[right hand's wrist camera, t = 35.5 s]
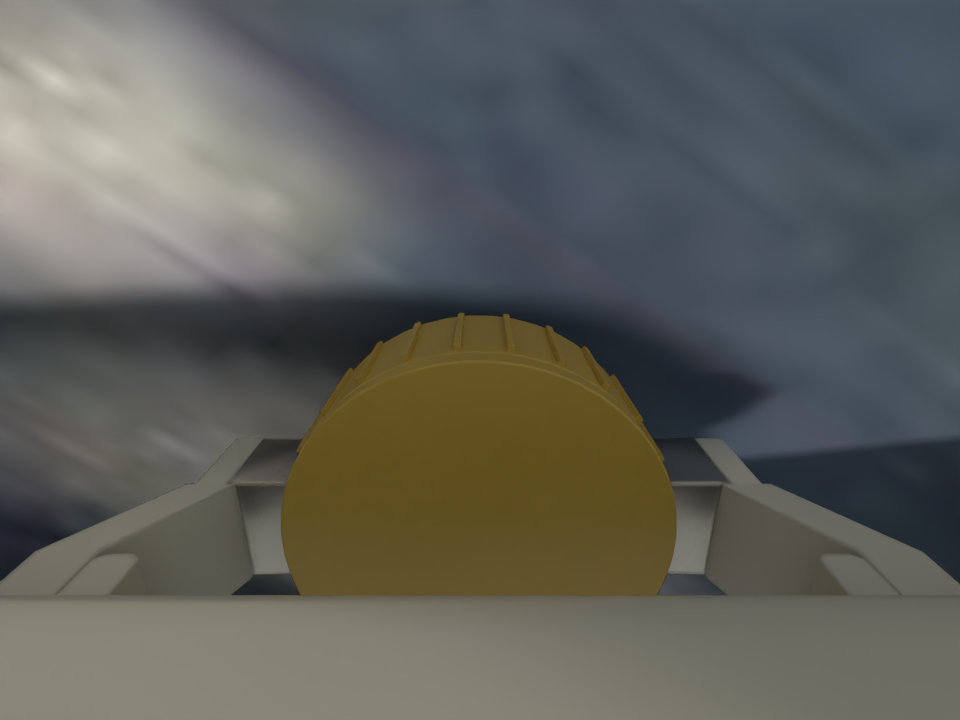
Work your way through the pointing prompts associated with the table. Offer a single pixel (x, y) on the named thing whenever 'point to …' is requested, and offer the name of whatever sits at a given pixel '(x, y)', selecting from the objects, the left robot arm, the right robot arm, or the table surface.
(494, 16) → the table surface
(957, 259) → the table surface
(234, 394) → the table surface
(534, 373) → the lid
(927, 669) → the right robot arm
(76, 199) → the table surface
